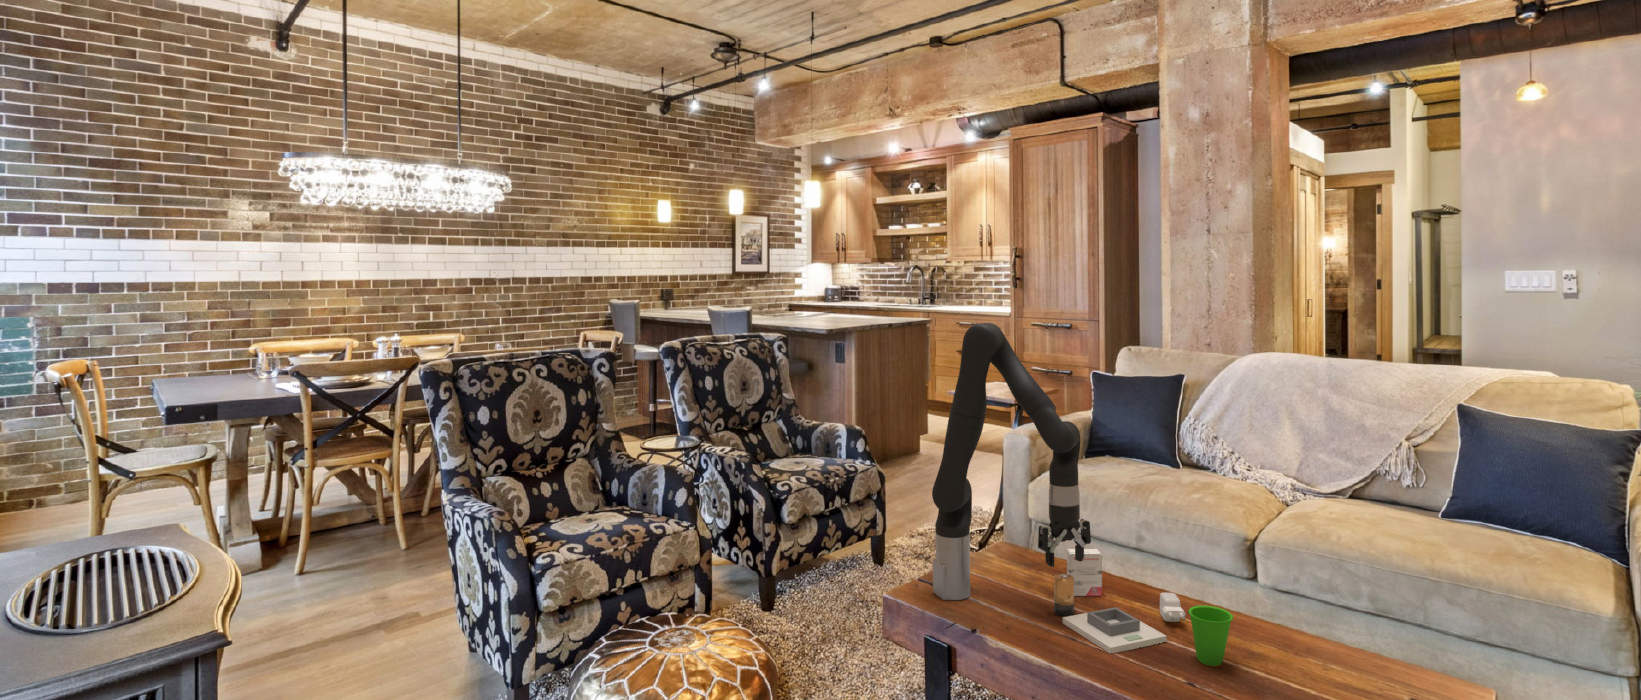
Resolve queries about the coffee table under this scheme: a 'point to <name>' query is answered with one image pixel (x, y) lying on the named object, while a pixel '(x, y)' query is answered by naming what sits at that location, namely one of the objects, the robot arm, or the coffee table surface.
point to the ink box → (1086, 572)
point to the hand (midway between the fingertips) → (1064, 563)
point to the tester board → (1114, 630)
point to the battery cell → (1064, 595)
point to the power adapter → (1171, 607)
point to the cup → (1210, 633)
